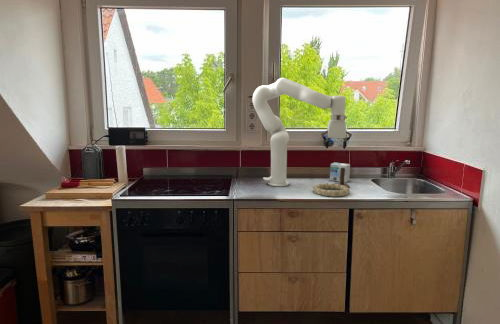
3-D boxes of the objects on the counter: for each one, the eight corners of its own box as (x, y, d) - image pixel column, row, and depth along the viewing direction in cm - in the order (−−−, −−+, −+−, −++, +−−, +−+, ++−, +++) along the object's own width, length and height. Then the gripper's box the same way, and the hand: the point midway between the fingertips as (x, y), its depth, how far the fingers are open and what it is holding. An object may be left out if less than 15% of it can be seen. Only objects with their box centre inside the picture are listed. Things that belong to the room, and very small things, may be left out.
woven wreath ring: (316, 197, 180) (316, 191, 180) (310, 188, 200) (310, 182, 199) (353, 197, 180) (354, 191, 179) (344, 188, 199) (344, 182, 199)
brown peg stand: (337, 187, 200) (338, 168, 198) (334, 185, 207) (335, 166, 205) (349, 187, 200) (350, 168, 198) (346, 185, 207) (347, 166, 205)
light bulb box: (329, 180, 219) (330, 163, 217) (333, 178, 224) (334, 162, 223) (345, 182, 213) (346, 165, 211) (349, 180, 218) (350, 163, 217)
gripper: (351, 118, 197) (349, 147, 200) (320, 117, 198) (319, 147, 201) (354, 118, 190) (352, 149, 193) (323, 118, 190) (321, 148, 193)
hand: (335, 148), depth 197 cm, fingers open, 9 cm apart
